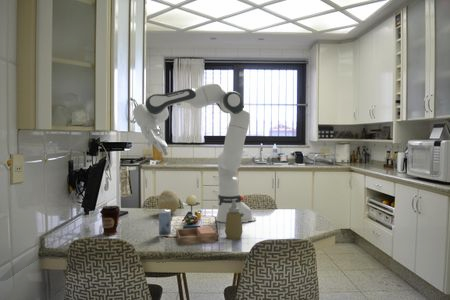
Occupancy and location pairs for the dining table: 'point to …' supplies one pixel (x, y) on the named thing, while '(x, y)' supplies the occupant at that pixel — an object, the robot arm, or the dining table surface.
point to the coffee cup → (110, 219)
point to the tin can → (164, 222)
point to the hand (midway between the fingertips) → (163, 153)
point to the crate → (194, 236)
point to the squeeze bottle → (233, 223)
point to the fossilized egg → (168, 200)
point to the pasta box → (205, 231)
